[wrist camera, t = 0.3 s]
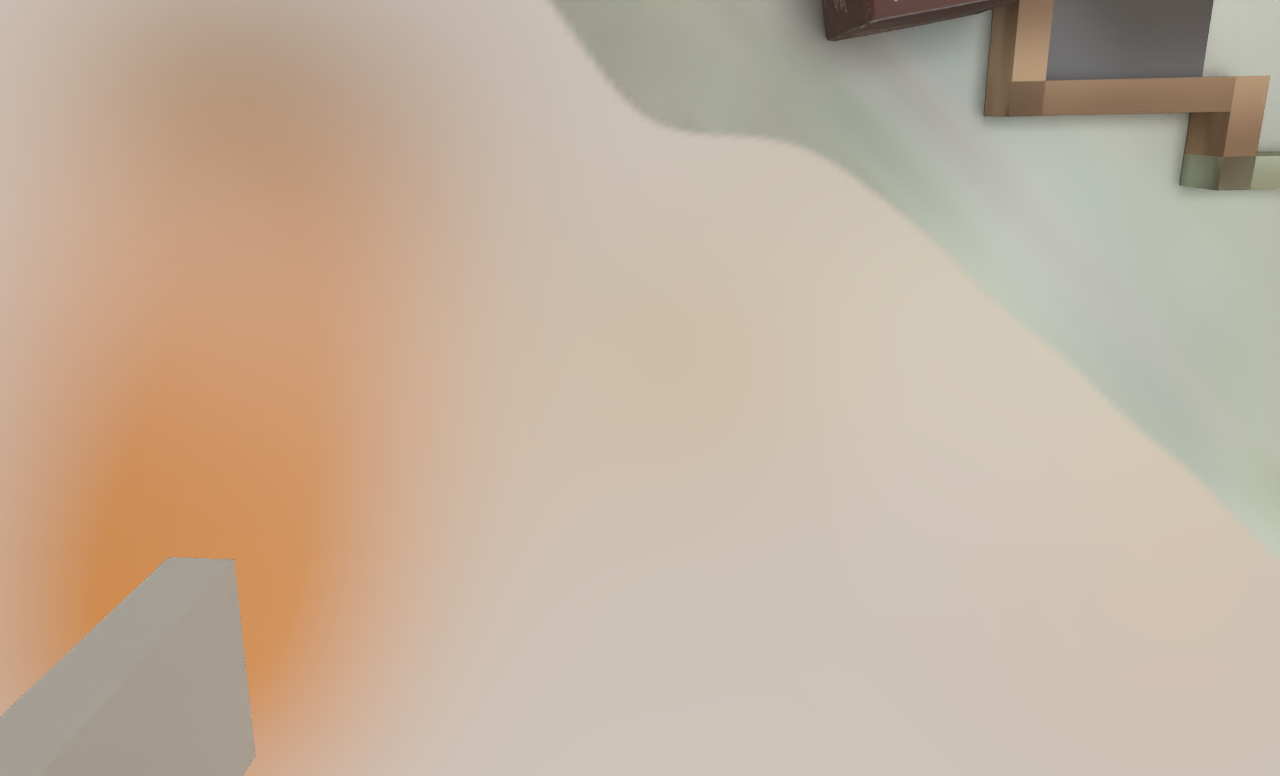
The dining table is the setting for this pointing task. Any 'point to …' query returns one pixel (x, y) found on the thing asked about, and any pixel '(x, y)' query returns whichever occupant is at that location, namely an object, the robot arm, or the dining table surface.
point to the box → (894, 14)
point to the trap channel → (1132, 78)
